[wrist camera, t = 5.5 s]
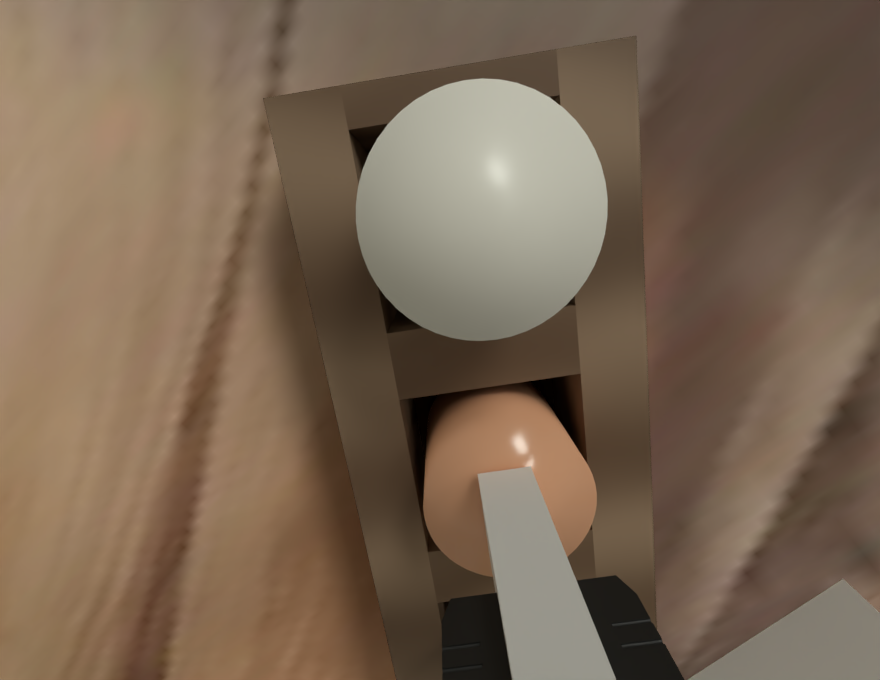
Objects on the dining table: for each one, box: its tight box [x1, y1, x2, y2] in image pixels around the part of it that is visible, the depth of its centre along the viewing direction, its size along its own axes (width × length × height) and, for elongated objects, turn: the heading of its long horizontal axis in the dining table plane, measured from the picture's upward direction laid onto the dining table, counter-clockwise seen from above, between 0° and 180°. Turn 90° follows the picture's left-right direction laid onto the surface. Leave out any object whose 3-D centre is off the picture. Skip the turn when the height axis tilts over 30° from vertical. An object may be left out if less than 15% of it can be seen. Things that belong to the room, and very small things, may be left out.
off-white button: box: [356, 78, 608, 341], centre depth 11 cm, size 5×5×5 cm
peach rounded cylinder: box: [423, 381, 597, 577], centre depth 15 cm, size 5×5×5 cm
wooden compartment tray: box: [263, 36, 657, 680], centre depth 16 cm, size 24×10×4 cm, turn 9°
